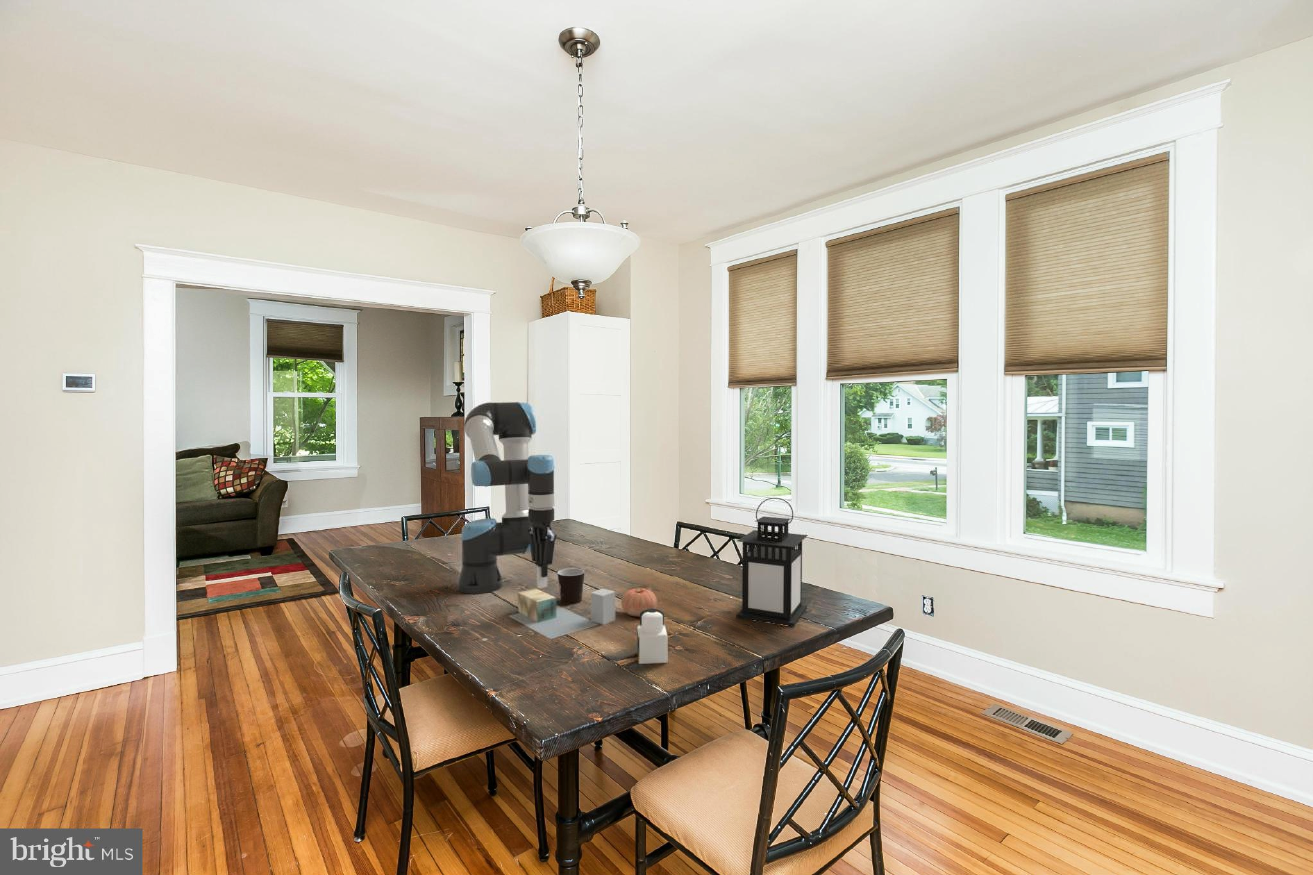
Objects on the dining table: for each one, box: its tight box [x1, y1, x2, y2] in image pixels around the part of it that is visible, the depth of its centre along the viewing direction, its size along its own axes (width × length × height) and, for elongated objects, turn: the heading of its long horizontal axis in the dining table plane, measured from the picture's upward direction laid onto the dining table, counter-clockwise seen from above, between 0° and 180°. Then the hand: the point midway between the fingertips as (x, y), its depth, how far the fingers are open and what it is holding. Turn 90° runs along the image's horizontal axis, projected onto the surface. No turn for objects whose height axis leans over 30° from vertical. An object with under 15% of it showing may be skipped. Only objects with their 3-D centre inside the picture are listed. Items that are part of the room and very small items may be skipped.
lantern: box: [735, 497, 809, 627], centre depth 184 cm, size 17×17×35 cm
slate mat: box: [508, 604, 600, 640], centre depth 178 cm, size 24×16×1 cm, turn 41°
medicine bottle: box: [636, 608, 669, 665], centre depth 153 cm, size 7×7×12 cm
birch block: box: [517, 587, 557, 622], centre depth 183 cm, size 6×6×12 cm
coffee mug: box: [557, 567, 586, 605], centre depth 197 cm, size 12×9×10 cm
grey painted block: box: [590, 588, 616, 625], centre depth 178 cm, size 5×5×9 cm
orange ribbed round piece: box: [620, 587, 658, 618], centre depth 184 cm, size 11×11×8 cm
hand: (542, 586), depth 180 cm, fingers closed
